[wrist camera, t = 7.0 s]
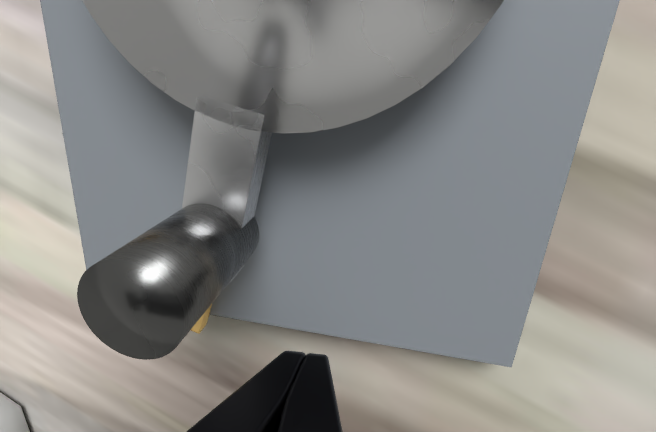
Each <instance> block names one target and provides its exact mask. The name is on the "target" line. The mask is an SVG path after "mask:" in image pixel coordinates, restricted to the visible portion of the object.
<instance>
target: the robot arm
mask: <svg viewBox="0 0 656 432" xmlns="http://www.w3.org/2000/svg"><path fill="white" fill-rule="evenodd" d="M187 432H342V427H341V422H340V417H339V412H338V406H337V401H336V396H335V391H334V386H333V381H332V376H331V370H330V365H329V360H328V357H327V356H326V355H321V354H312V353H309V354H307V355H305V354H304V353H303V352H294V351H285V352H283V353H282V354H280V355H279V356H278V357H277V358H275V359H274V360H273V361H272V362H271V363H269V364H268V365H267V366H266V367H265V368H263V369H262V370H261V371H260V372H258V373H257V374H256V375H255V376H254V377H252V378H251V379H250V380H249V381H247V382H246V383H245V384H244V385H243V386H241V387H240V388H239V389H238V390H237V391H235V392H234V393H233V394H232V395H230V396H229V397H228V398H227V399H226V400H224V401H223V402H222V403H221V404H220V405H218V406H217V407H216V408H215V409H213V410H212V411H211V412H210V413H209V414H207V415H206V416H205V417H204V418H202V419H201V420H200V421H199V422H198V423H196V424H195V425H194V426H193V427H192V428H190V429H189V430H188V431H187Z"/></svg>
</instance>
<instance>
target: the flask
mask: <svg viewBox="0 0 656 432" xmlns="http://www.w3.org/2000/svg"><path fill="white" fill-rule="evenodd" d="M0 432H30V431H29V428H28V425H27V422H26V420H25V417H24V414H23V411H22V409H21V406H20V405H18V404H17V403H15V402H14V401H12V400H11V399H9V398H8V397H6V396H5V395H3V394H2V393H0Z"/></svg>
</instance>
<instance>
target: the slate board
mask: <svg viewBox="0 0 656 432" xmlns="http://www.w3.org/2000/svg"><path fill="white" fill-rule="evenodd" d="M40 2H41V8H42V14H43V20H44V25H45V31H46V37H47V43H48V49H49V55H50V60H51V66H52V72H53V78H54V84H55V90H56V95H57V101H58V107H59V113H60V119H61V124H62V130H63V136H64V142H65V148H66V154H67V159H68V165H69V171H70V177H71V183H72V188H73V194H74V200H75V206H76V212H77V218H78V223H79V229H80V235H81V241H82V247H83V253H84V258H85V264H86V270H87V269H88V268H89V267H91V266H92V265H94V264H95V263H97V262H99V261H100V260H102V259H103V258H105V257H106V256H108V255H110V254H111V253H113V252H114V251H116V250H118V249H119V248H121V247H122V246H124V245H125V244H127V243H129V242H130V241H132V240H133V239H135V238H136V237H138V236H140V235H141V234H143V233H144V232H146V231H147V230H149V229H151V228H152V227H154V226H155V225H157V224H159V223H160V222H162V221H163V220H165V219H166V218H168V217H170V216H171V215H173V214H174V213H176V212H177V211H179V210H181V209H182V204H183V196H184V189H185V181H186V174H187V166H188V159H189V151H190V143H191V136H192V128H193V121H194V113H195V110H193V109H191V108H189V107H187V106H185V105H183V104H182V103H180V102H178V101H176V100H175V99H173V98H172V97H170V96H169V95H168V94H166V93H165V92H163V91H162V90H161V89H159V88H158V87H156V86H155V85H153V84H152V83H151V82H150V81H149V80H148V79H147V78H145V77H144V76H143V75H142V74H141V73H140V72H139V71H138V70H137V69H135V68H134V67H133V66H132V65H131V64H130V63H129V62H128V61H127V60H126V59H125V57H124V56H123V55H122V54H121V53H120V52H119V51H118V50H117V48H116V47H115V46H114V45H113V44H112V43H111V42H110V41H109V39H108V38H107V37H106V35H105V34H104V32H103V31H102V30H101V28H100V27H99V25H98V24H97V23H96V21H95V20H94V19H93V17H92V16H91V14H90V13H89V11H88V9H87V8H86V6H85V4H84V2H83V1H82V0H40ZM618 4H619V0H504V1H503V2H502V4H501V6H500V7H499V8H498V10H497V11H496V12H495V14H494V15H493V16H492V18H491V19H490V20H489V22H488V23H487V24H486V26H485V27H484V28H483V29H482V31H481V32H480V33H479V35H478V36H477V37H476V38H475V40H474V41H473V42H472V43H471V44H470V45H469V46H468V47H467V48H466V49H465V50H464V51H463V52H462V53H461V54H460V55H459V56H458V57H457V58H456V59H455V60H454V61H453V63H452V64H451V65H450V66H448V67H447V68H446V69H445V70H443V71H442V72H441V73H440V74H439V75H437V76H436V77H435V78H434V79H433V80H431V81H430V82H429V83H428V84H426V85H425V86H424V87H423V88H421V89H420V90H418V91H417V92H415V93H413V94H412V95H410V96H409V97H407V98H405V99H404V100H402V101H401V102H399V103H398V104H396V105H394V106H392V107H390V108H388V109H386V110H384V111H382V112H379V113H377V114H375V115H373V116H371V117H369V118H367V119H363V120H360V121H357V122H354V123H351V124H348V125H344V126H341V127H338V128H332V129H327V130H321V131H315V132H308V133H272V135H271V139H270V144H269V149H268V153H267V158H266V163H265V168H264V172H263V177H262V182H261V187H260V191H259V196H258V201H257V206H256V210H255V215H254V217H255V218H256V221H257V224H258V227H259V242H258V245H257V248H256V250H255V251H254V253H253V254H252V255H251V257H250V258H249V259H248V260H247V262H246V263H245V264H244V266H243V267H242V269H241V270H240V271H239V272H238V274H237V275H236V276H235V277H234V279H233V280H232V281H230V282H229V283H228V285H227V286H226V287H225V288H224V290H223V291H222V292H221V293H220V294H219V296H218V297H217V298H216V299H215V301H214V302H213V303H212V304H211V305H210V307H209V308H208V309H207V310H206V311H205V313H204V314H203V315H202V316H201V318H200V319H199V320H198V321H197V322H196V324H195V325H194V326H193V327H192V329H191V331H194V332H196V333H200V332H201V331H202V329H203V328H204V327H205V326H206V324H207V321H208V317H209V314H210V315H215V316H221V317H227V318H232V319H238V320H244V321H250V322H255V323H261V324H267V325H272V326H278V327H284V328H290V329H295V330H301V331H307V332H312V333H318V334H324V335H330V336H335V337H341V338H347V339H352V340H358V341H364V342H370V343H375V344H381V345H387V346H392V347H398V348H404V349H410V350H415V351H421V352H427V353H432V354H438V355H444V356H450V357H455V358H461V359H467V360H472V361H478V362H484V363H490V364H495V365H501V366H507V367H512V364H513V360H514V357H515V354H516V350H517V347H518V343H519V340H520V337H521V333H522V330H523V326H524V323H525V320H526V316H527V313H528V309H529V306H530V303H531V299H532V296H533V292H534V289H535V286H536V282H537V279H538V276H539V272H540V269H541V265H542V262H543V259H544V255H545V252H546V248H547V245H548V242H549V238H550V235H551V231H552V228H553V225H554V221H555V218H556V214H557V211H558V208H559V204H560V201H561V197H562V194H563V191H564V187H565V184H566V180H567V177H568V174H569V170H570V167H571V163H572V160H573V157H574V153H575V150H576V146H577V143H578V140H579V136H580V133H581V129H582V126H583V123H584V119H585V116H586V113H587V109H588V106H589V102H590V99H591V96H592V92H593V89H594V85H595V82H596V79H597V75H598V72H599V68H600V65H601V62H602V58H603V55H604V51H605V48H606V45H607V41H608V38H609V34H610V31H611V28H612V24H613V21H614V17H615V14H616V11H617V7H618Z"/></svg>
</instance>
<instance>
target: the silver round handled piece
mask: <svg viewBox="0 0 656 432" xmlns="http://www.w3.org/2000/svg"><path fill="white" fill-rule="evenodd" d="M82 1H83V2H84V4H85V6H86V8H87V9H88V11H89V13H90V14H91V16H92V17H93V19H94V20H95V21H96V23H97V24H98V25H99V27H100V28H101V30H102V31H103V32H104V34H105V35H106V37H107V38H108V39H109V41H110V42H111V43H112V44H113V45H114V46H115V47H116V48H117V50H118V51H119V52H120V53H121V54H122V55H123V56H124V57H125V59H126V60H127V61H128V62H129V63H130V64H131V65H132V66H133V67H134V68H135V69H137V70H138V71H139V72H140V73H141V74H142V75H143V76H144V77H145V78H147V79H148V80H149V81H150V82H151V83H152V84H153V85H155V86H156V87H158V88H159V89H161V90H162V91H163V92H165V93H166V94H168V95H169V96H170V97H172V98H173V99H175V100H176V101H178V102H180V103H182V104H183V105H185V106H187V107H189V108H191V109H193V110H195V113H194V121H193V128H192V136H191V143H190V151H189V159H188V166H187V174H186V181H185V189H184V196H183V204H182V209H181V210H179V211H177V212H176V213H174V214H173V215H171V216H170V217H168V218H166V219H165V220H163V221H162V222H160V223H159V224H157V225H155V226H154V227H152V228H151V229H149V230H147V231H146V232H144V233H143V234H141V235H140V236H138V237H136V238H135V239H133V240H132V241H130V242H129V243H127V244H125V245H124V246H122V247H121V248H119V249H118V250H116V251H114V252H113V253H111V254H110V255H108V256H106V257H105V258H103V259H102V260H100V261H99V262H97V263H95V264H94V265H92V266H91V267H89V268H88V269H87V270H86V271H85V272H84V274H83V275H82V277H81V279H80V281H79V285H78V292H77V297H78V304H79V308H80V311H81V314H82V316H83V318H84V320H85V322H86V323H87V325H88V326H89V328H90V329H91V331H92V332H93V333H94V334H95V335H96V336H97V337H98V338H99V339H100V340H101V341H102V342H103V343H105V344H106V345H107V346H109V347H110V348H112V349H113V350H115V351H117V352H119V353H121V354H123V355H126V356H129V357H132V358H137V359H156V358H160V357H163V356H165V355H167V354H169V353H170V352H172V351H173V350H174V349H175V348H176V347H177V346H178V344H179V343H180V342H181V341H182V339H183V338H184V337H185V336H186V335H187V333H188V332H189V331H190V330H191V329H192V327H193V326H194V325H195V324H196V322H197V321H198V320H199V319H200V318H201V316H202V315H203V314H204V313H205V311H206V310H207V309H208V308H209V307H210V305H211V304H212V303H213V302H214V301H215V299H216V298H217V297H218V296H219V294H220V293H221V292H222V291H223V290H224V288H225V287H226V286H227V285H228V283H229V282H230V281H232V280H233V279H234V277H235V276H236V275H237V274H238V272H239V271H240V270H241V269H242V267H243V266H244V264H245V263H246V262H247V260H248V259H249V258H250V257H251V255H252V254H253V253H254V251H255V250H256V248H257V245H258V242H259V227H258V224H257V221H256V218H255V217H254V215H255V210H256V206H257V201H258V196H259V191H260V187H261V182H262V177H263V172H264V168H265V163H266V158H267V153H268V149H269V144H270V139H271V135H272V133H308V132H315V131H321V130H327V129H332V128H338V127H341V126H344V125H348V124H351V123H354V122H357V121H360V120H363V119H367V118H369V117H371V116H373V115H375V114H377V113H379V112H382V111H384V110H386V109H388V108H390V107H392V106H394V105H396V104H398V103H399V102H401V101H402V100H404V99H405V98H407V97H409V96H410V95H412V94H413V93H415V92H417V91H418V90H420V89H421V88H423V87H424V86H425V85H426V84H428V83H429V82H430V81H431V80H433V79H434V78H435V77H436V76H437V75H439V74H440V73H441V72H442V71H443V70H445V69H446V68H447V67H448V66H450V65H451V64H452V63H453V61H454V60H455V59H456V58H457V57H458V56H459V55H460V54H461V53H462V52H463V51H464V50H465V49H466V48H467V47H468V46H469V45H470V44H471V43H472V42H473V41H474V40H475V38H476V37H477V36H478V35H479V33H480V32H481V31H482V29H483V28H484V27H485V26H486V24H487V23H488V22H489V20H490V19H491V18H492V16H493V15H494V14H495V12H496V11H497V10H498V8H499V7H500V6H501V4H502V2H503V1H504V0H82Z"/></svg>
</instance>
